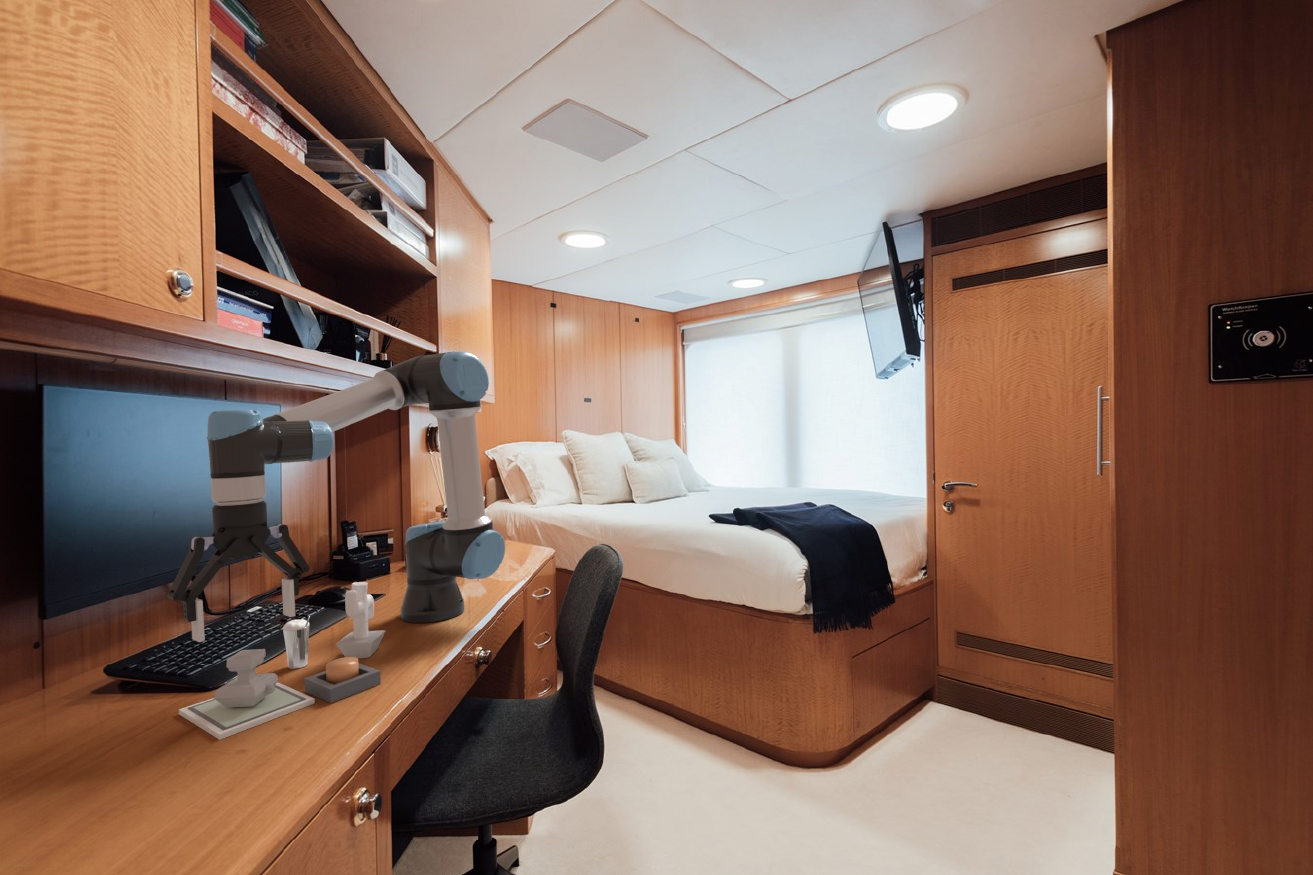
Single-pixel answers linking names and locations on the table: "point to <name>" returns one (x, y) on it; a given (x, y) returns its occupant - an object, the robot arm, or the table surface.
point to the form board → (244, 712)
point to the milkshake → (296, 642)
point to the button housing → (342, 684)
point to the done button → (342, 670)
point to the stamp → (246, 680)
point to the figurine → (360, 624)
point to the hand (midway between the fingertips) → (246, 627)
